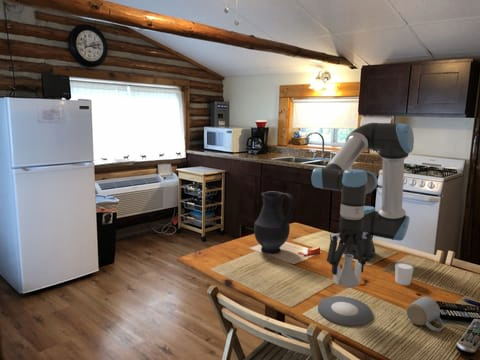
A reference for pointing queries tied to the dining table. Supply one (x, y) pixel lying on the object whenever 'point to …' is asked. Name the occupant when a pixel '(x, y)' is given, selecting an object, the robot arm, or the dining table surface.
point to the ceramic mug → (425, 313)
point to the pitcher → (273, 222)
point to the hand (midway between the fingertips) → (346, 281)
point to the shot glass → (403, 273)
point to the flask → (347, 273)
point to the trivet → (345, 311)
